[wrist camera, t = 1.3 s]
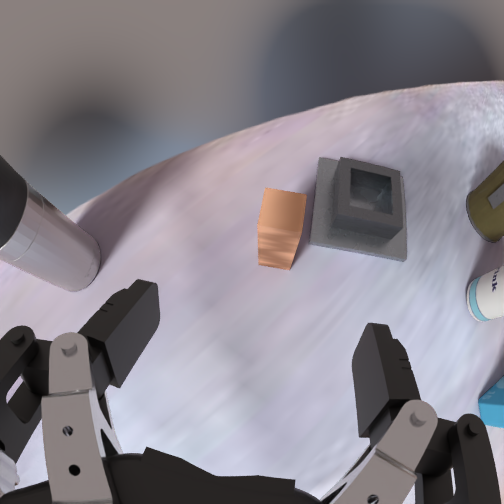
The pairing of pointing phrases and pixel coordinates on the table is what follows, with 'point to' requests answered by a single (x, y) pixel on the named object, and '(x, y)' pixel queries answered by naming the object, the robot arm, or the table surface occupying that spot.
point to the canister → (488, 206)
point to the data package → (493, 405)
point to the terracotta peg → (280, 227)
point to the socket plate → (359, 209)
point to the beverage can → (487, 296)
